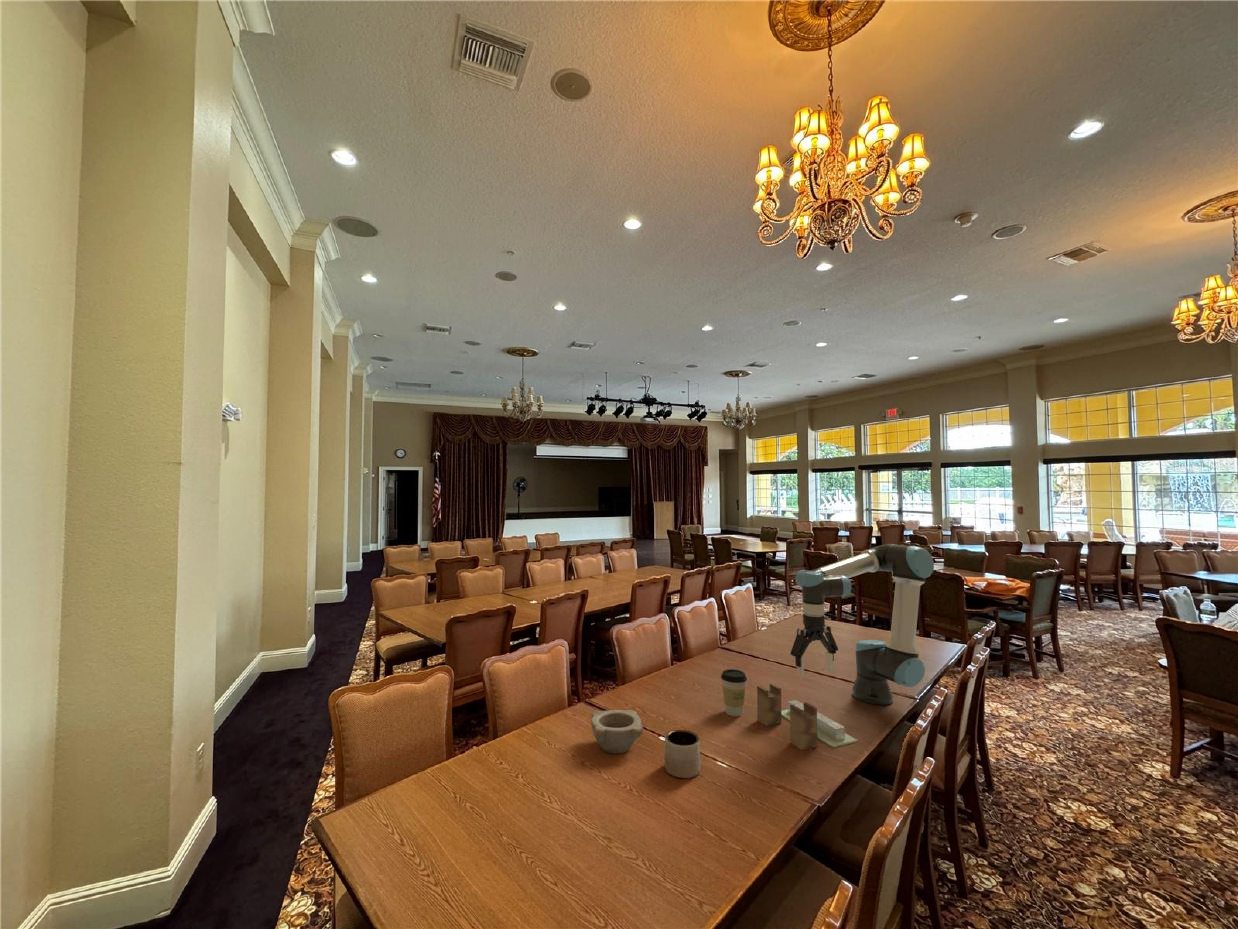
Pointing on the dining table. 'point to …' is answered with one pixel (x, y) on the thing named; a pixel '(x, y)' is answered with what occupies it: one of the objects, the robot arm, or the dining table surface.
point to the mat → (824, 737)
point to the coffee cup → (734, 691)
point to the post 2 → (803, 726)
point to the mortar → (616, 729)
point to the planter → (682, 753)
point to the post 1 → (769, 705)
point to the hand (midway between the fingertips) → (815, 673)
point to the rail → (824, 723)
